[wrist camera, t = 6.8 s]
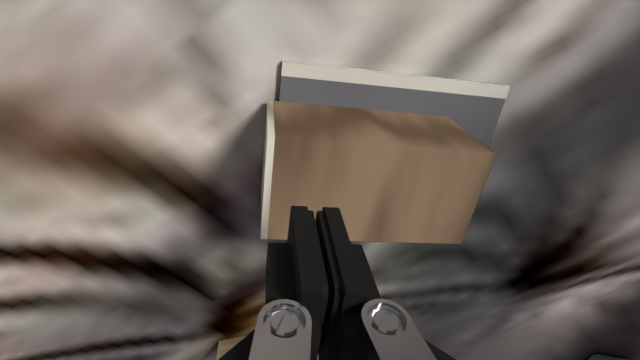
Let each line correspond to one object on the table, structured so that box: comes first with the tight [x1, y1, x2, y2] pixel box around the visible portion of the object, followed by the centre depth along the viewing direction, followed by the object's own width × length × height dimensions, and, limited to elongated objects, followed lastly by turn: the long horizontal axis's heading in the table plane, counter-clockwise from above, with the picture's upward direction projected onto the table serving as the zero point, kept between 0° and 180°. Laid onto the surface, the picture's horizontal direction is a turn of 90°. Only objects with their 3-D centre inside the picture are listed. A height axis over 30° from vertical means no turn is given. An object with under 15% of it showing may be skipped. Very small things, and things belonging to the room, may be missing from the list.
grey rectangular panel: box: [279, 60, 511, 147], centre depth 21 cm, size 12×9×1 cm
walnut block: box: [260, 100, 496, 244], centre depth 18 cm, size 5×5×10 cm
